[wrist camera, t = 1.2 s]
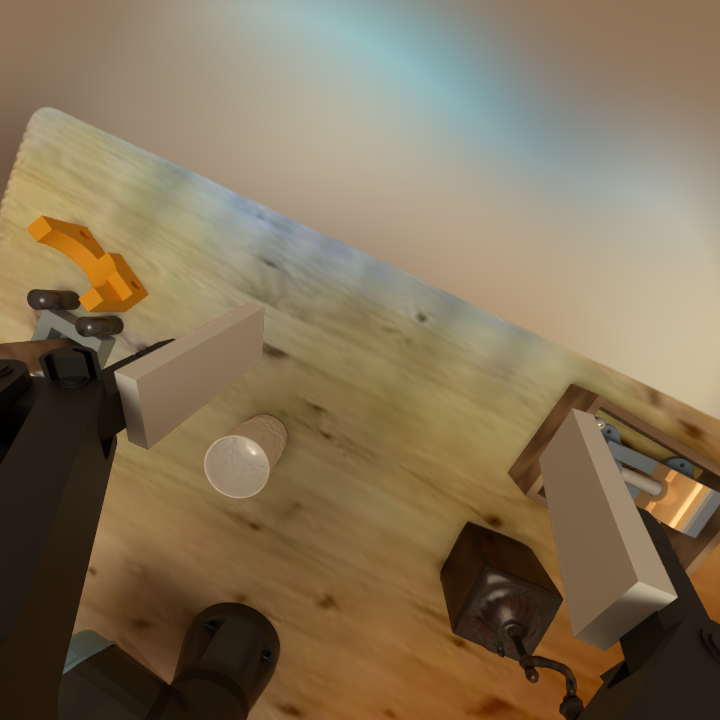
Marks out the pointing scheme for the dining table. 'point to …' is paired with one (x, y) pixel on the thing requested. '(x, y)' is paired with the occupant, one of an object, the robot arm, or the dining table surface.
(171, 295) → the dining table surface
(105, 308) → the pipe clamp
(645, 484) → the vise
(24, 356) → the dowel
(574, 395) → the tool caddy
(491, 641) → the coffee grinder
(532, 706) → the dining table surface
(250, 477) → the white cup
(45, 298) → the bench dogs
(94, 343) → the jig block
